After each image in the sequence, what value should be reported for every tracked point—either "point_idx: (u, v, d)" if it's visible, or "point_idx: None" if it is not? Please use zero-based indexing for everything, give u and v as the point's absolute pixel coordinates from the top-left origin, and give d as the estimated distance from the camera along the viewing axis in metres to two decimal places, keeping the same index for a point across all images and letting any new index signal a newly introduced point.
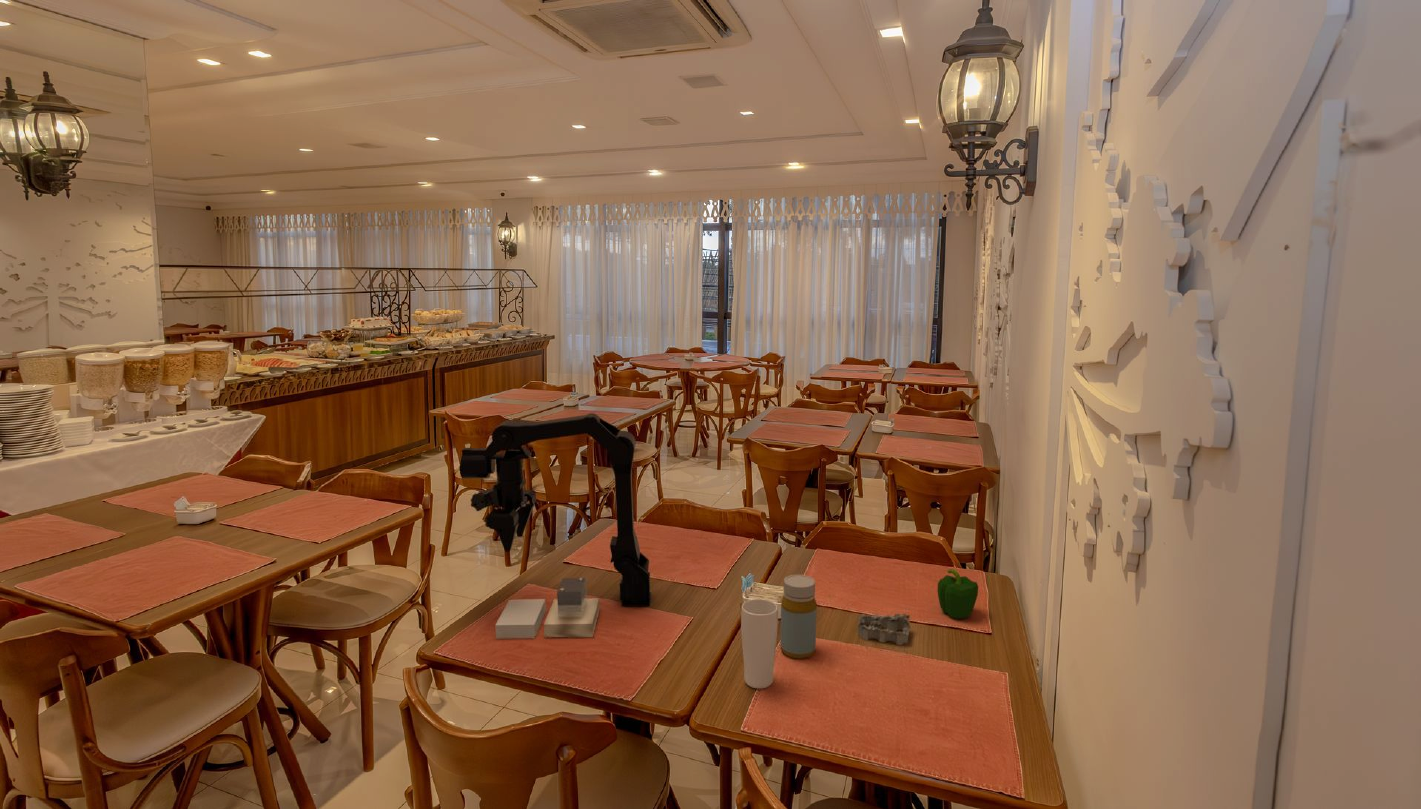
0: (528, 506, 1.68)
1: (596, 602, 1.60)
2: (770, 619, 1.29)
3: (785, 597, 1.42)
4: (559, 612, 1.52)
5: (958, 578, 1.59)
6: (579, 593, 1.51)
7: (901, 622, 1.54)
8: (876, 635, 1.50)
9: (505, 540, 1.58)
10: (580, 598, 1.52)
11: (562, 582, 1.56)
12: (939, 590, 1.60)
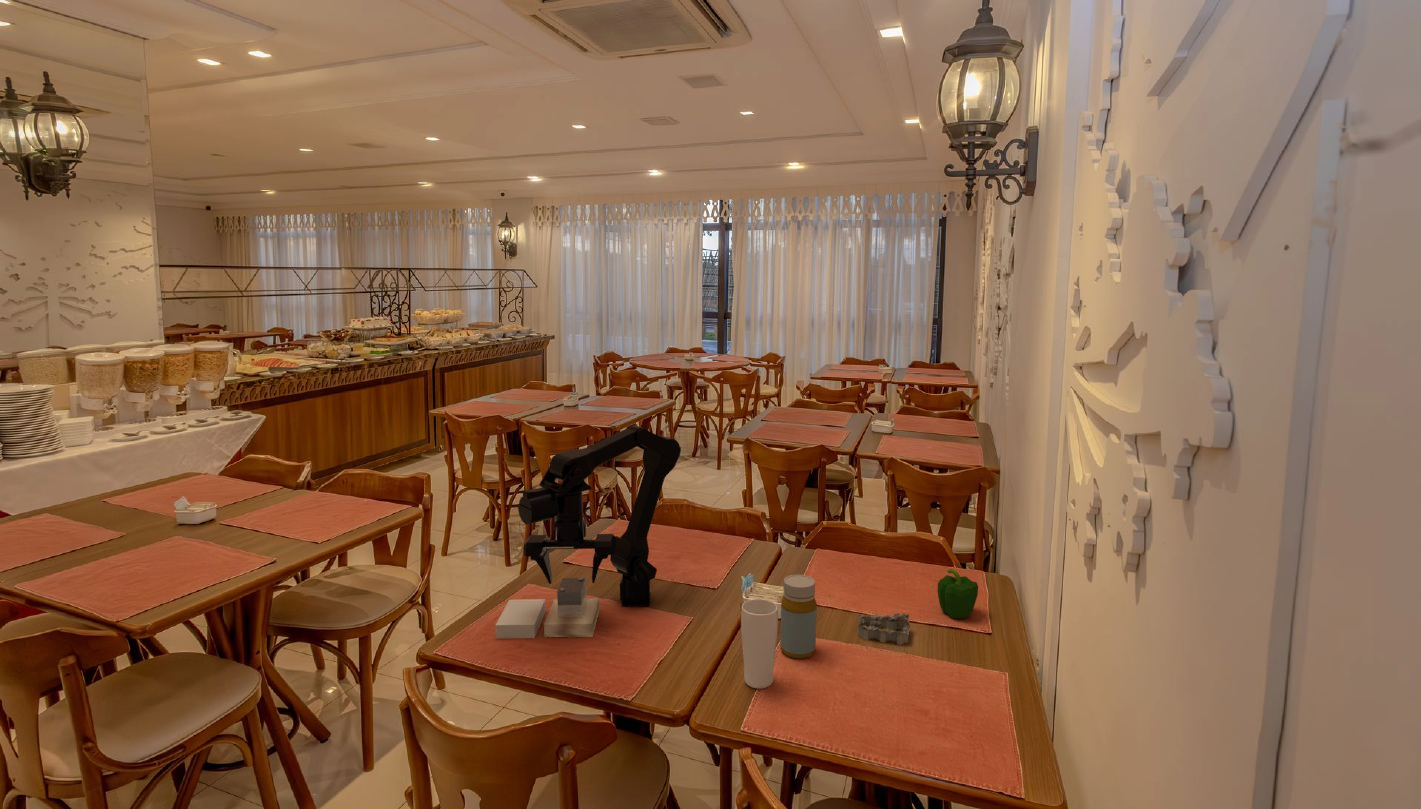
0: (597, 555, 1.52)
1: (596, 602, 1.60)
2: (770, 619, 1.29)
3: (785, 597, 1.42)
4: (559, 612, 1.52)
5: (958, 578, 1.59)
6: (579, 593, 1.51)
7: (901, 622, 1.54)
8: (877, 635, 1.50)
9: None
10: (580, 598, 1.52)
11: (562, 582, 1.56)
12: (939, 590, 1.60)
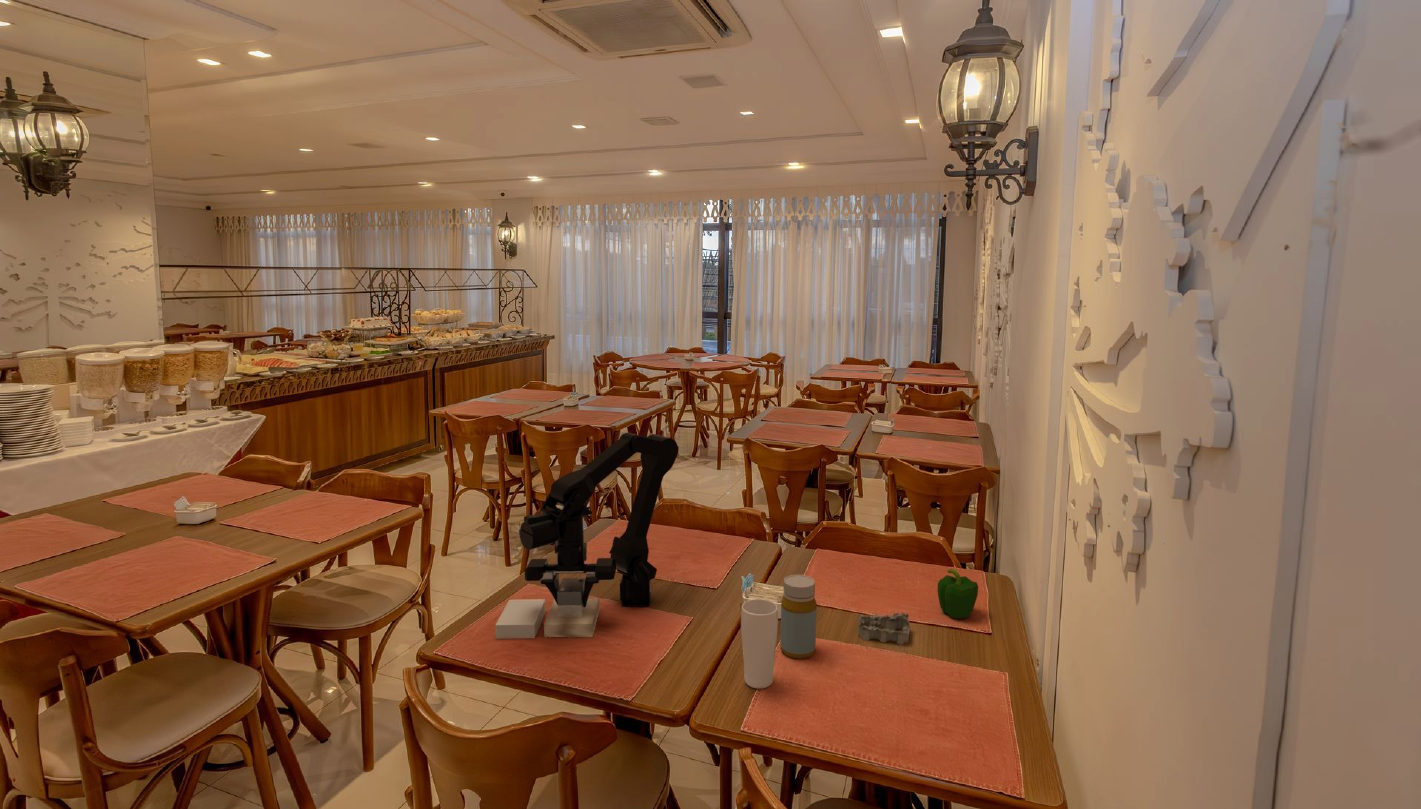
0: (588, 579, 1.53)
1: (596, 602, 1.60)
2: (770, 619, 1.29)
3: (785, 597, 1.42)
4: (559, 612, 1.52)
5: (958, 578, 1.59)
6: (579, 593, 1.51)
7: (900, 621, 1.54)
8: (877, 635, 1.50)
9: None
10: (580, 598, 1.52)
11: (562, 582, 1.56)
12: (939, 590, 1.60)
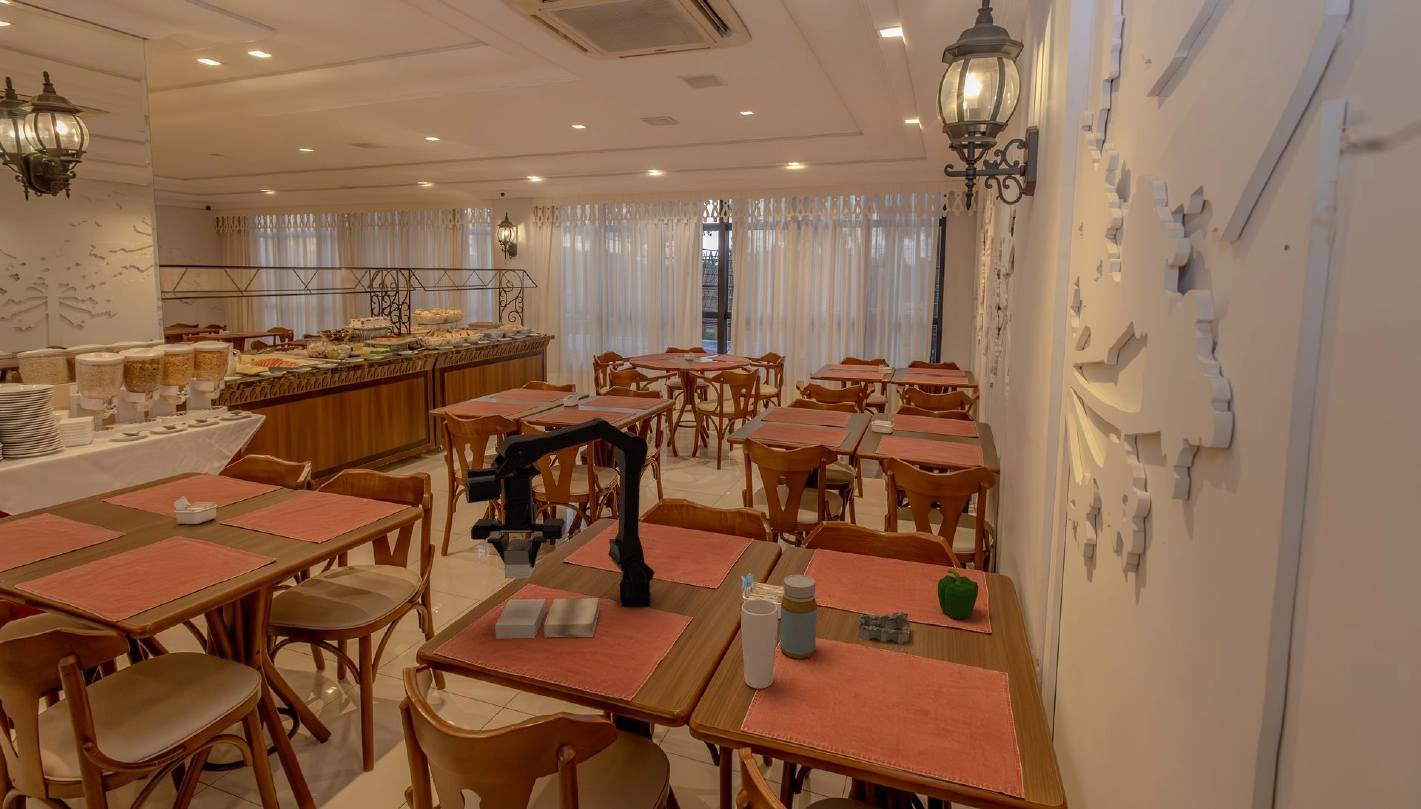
0: (536, 539, 1.50)
1: (596, 602, 1.60)
2: (770, 619, 1.29)
3: (785, 597, 1.42)
4: (506, 572, 1.50)
5: (958, 578, 1.59)
6: (526, 552, 1.49)
7: (899, 621, 1.54)
8: (877, 635, 1.50)
9: None
10: (527, 557, 1.50)
11: (510, 542, 1.54)
12: (939, 590, 1.60)
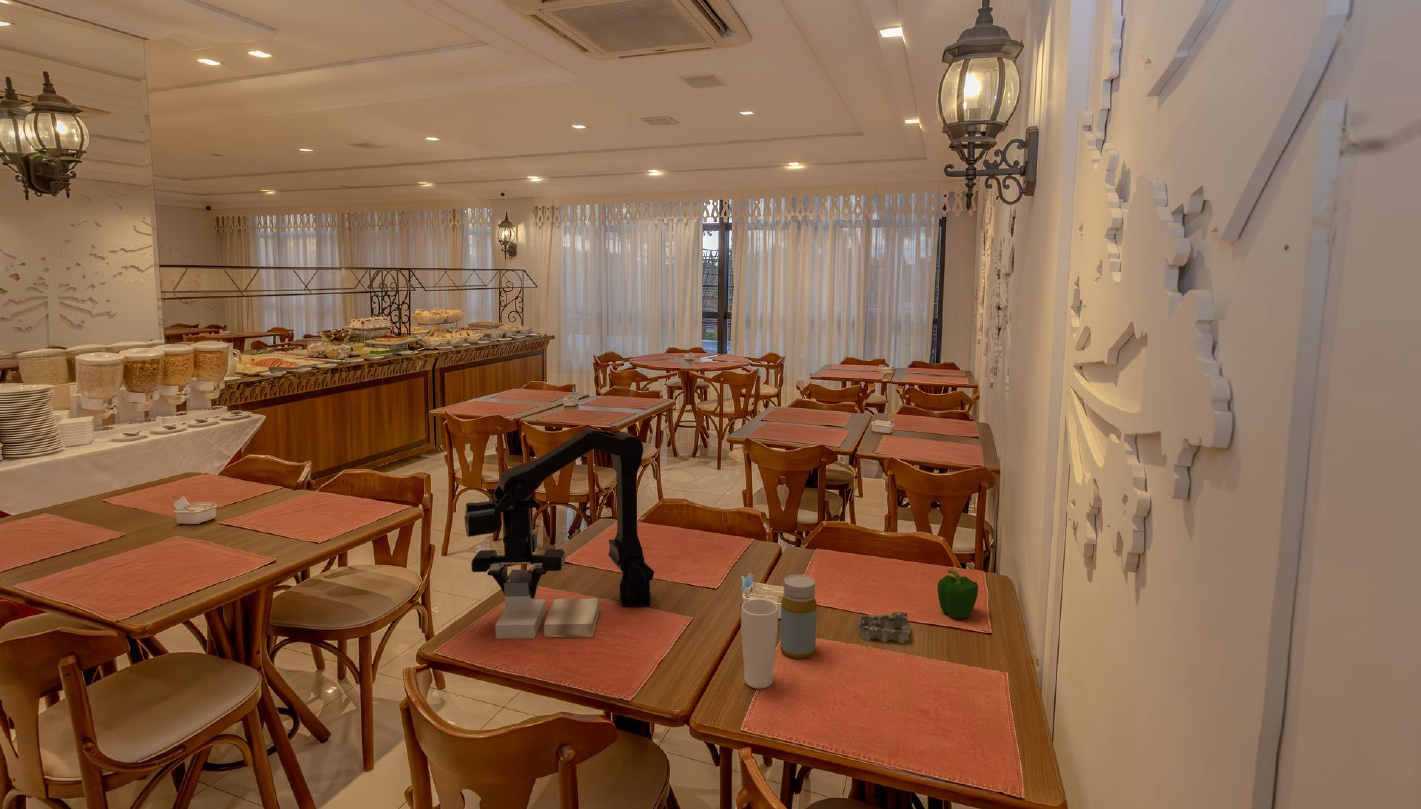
0: (535, 571, 1.52)
1: (596, 602, 1.60)
2: (770, 619, 1.29)
3: (785, 597, 1.42)
4: (506, 603, 1.51)
5: (958, 578, 1.59)
6: (526, 584, 1.51)
7: (899, 620, 1.54)
8: (878, 635, 1.50)
9: None
10: (527, 589, 1.51)
11: (511, 573, 1.55)
12: (939, 590, 1.60)
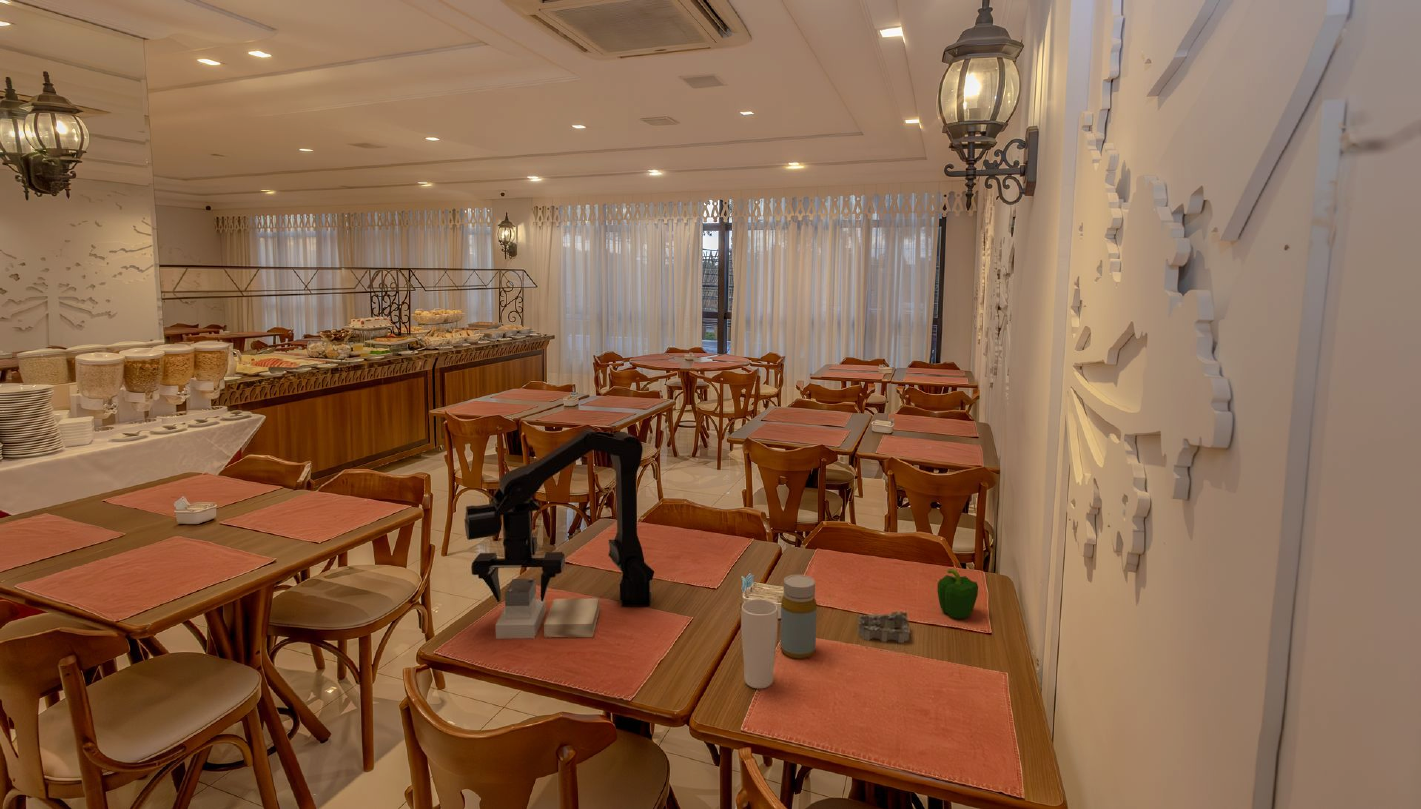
0: (545, 573, 1.52)
1: (596, 602, 1.60)
2: (770, 619, 1.29)
3: (785, 597, 1.42)
4: (507, 613, 1.52)
5: (958, 578, 1.59)
6: (527, 594, 1.51)
7: (898, 620, 1.55)
8: (878, 635, 1.50)
9: None
10: (528, 599, 1.51)
11: (511, 583, 1.55)
12: (939, 590, 1.60)
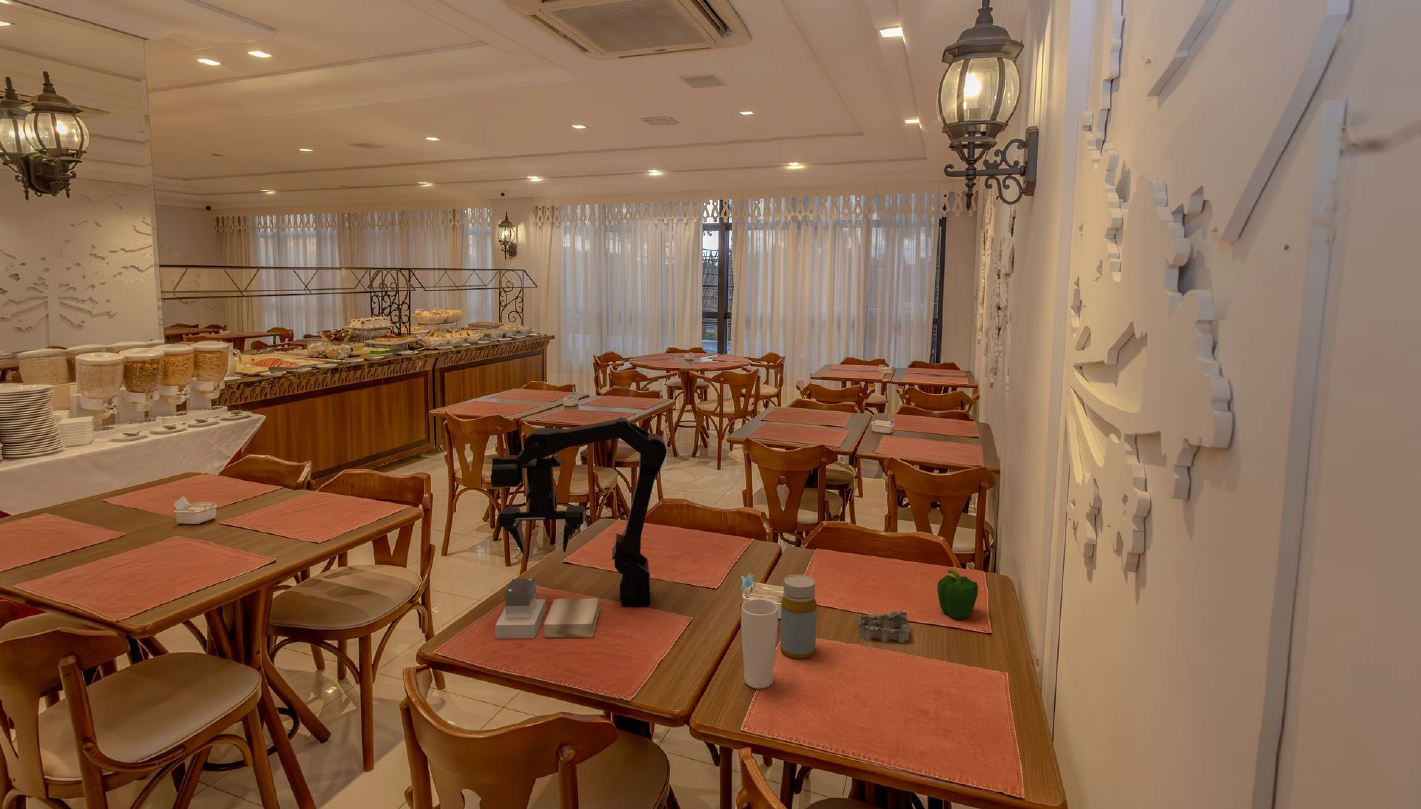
0: (567, 525, 1.60)
1: (596, 602, 1.60)
2: (770, 619, 1.29)
3: (785, 597, 1.42)
4: (507, 613, 1.52)
5: (958, 578, 1.59)
6: (527, 594, 1.51)
7: (898, 619, 1.55)
8: (878, 634, 1.50)
9: None
10: (528, 599, 1.51)
11: (511, 583, 1.55)
12: (939, 590, 1.60)
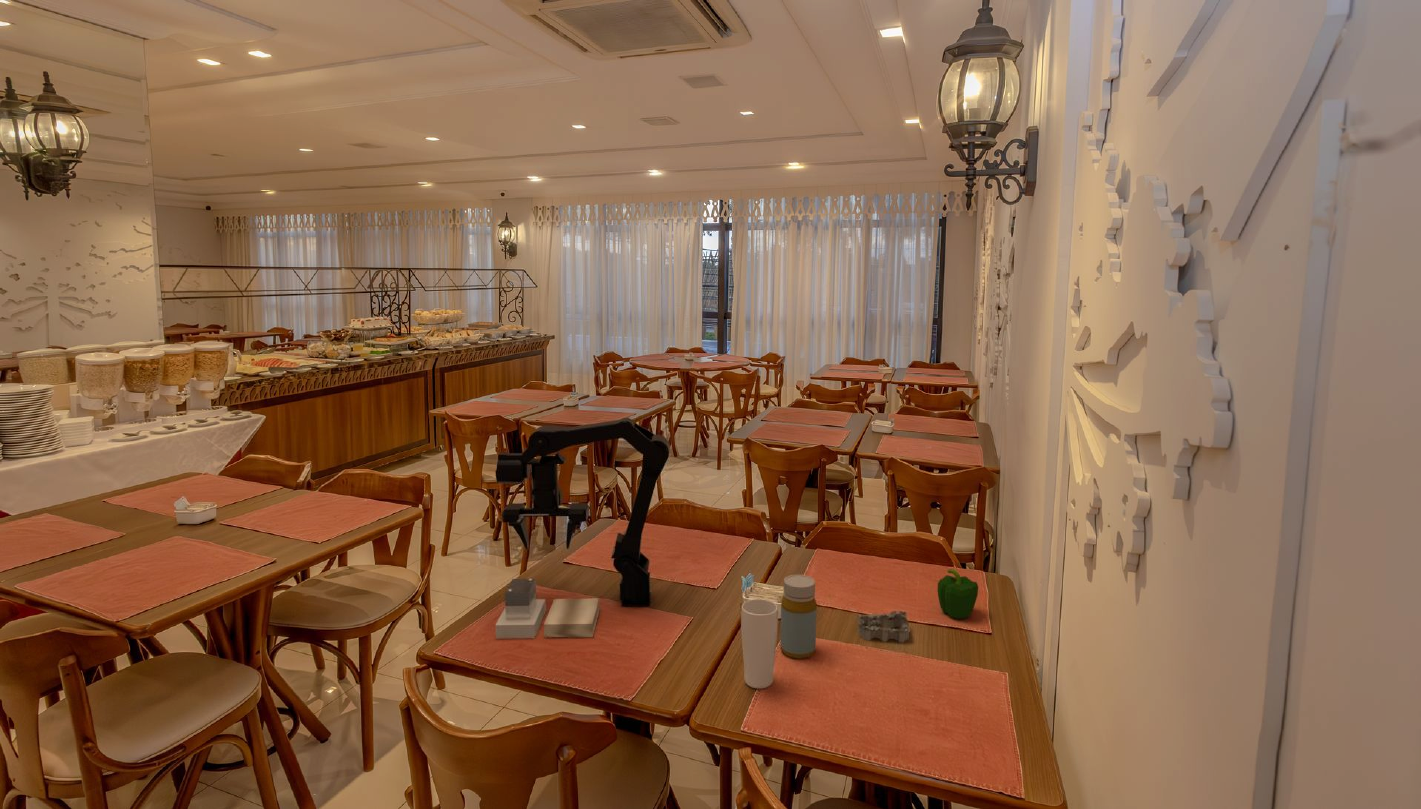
0: (570, 522, 1.62)
1: (596, 602, 1.60)
2: (770, 619, 1.29)
3: (785, 597, 1.42)
4: (507, 613, 1.52)
5: (958, 578, 1.59)
6: (527, 594, 1.51)
7: (897, 619, 1.55)
8: (878, 634, 1.50)
9: None
10: (528, 599, 1.51)
11: (511, 583, 1.55)
12: (939, 590, 1.60)
